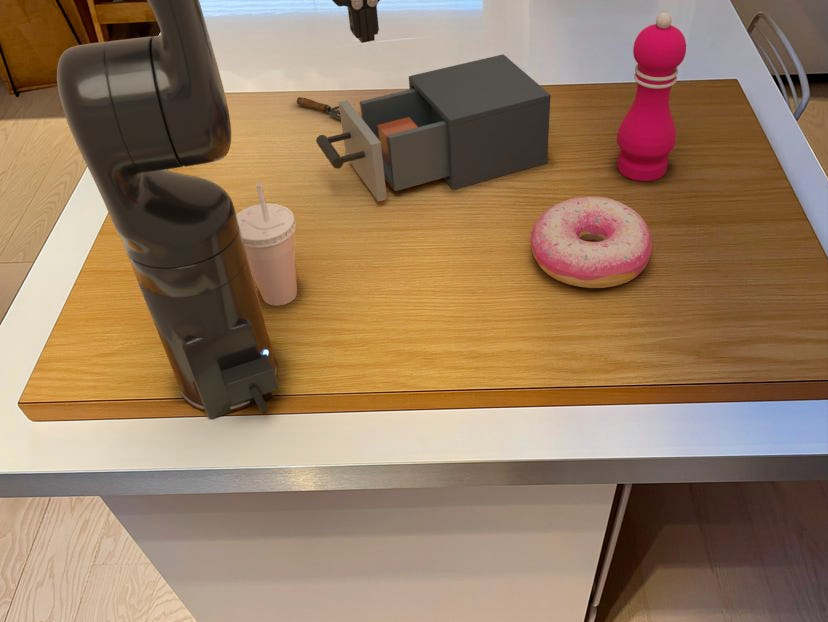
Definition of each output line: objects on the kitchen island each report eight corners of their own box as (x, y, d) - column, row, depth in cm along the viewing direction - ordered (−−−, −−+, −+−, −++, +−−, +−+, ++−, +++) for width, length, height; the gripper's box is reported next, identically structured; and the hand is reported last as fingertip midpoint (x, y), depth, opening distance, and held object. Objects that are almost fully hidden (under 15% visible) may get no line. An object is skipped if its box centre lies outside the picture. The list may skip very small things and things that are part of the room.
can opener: (296, 105, 118) (295, 98, 117) (307, 99, 120) (306, 91, 119) (344, 123, 115) (343, 115, 114) (355, 116, 116) (354, 108, 115)
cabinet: (452, 190, 103) (449, 120, 96) (413, 143, 111) (408, 75, 104) (547, 163, 107) (550, 94, 100) (502, 120, 115) (503, 53, 108)
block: (425, 163, 103) (423, 132, 100) (393, 172, 102) (390, 141, 99) (411, 147, 106) (409, 116, 103) (379, 156, 105) (376, 124, 102)
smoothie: (297, 317, 86) (272, 206, 76) (240, 309, 87) (208, 198, 77) (317, 279, 91) (296, 169, 81) (263, 272, 92) (235, 162, 82)
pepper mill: (668, 155, 108) (695, 0, 94) (672, 185, 103) (700, 27, 89) (613, 152, 109) (631, -1, 94) (614, 182, 104) (633, 25, 89)
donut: (551, 308, 87) (554, 271, 83) (514, 235, 96) (515, 199, 92) (668, 285, 89) (676, 248, 86) (621, 216, 98) (626, 180, 95)
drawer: (345, 211, 98) (336, 153, 93) (315, 165, 106) (305, 109, 100) (470, 175, 103) (469, 119, 98) (433, 134, 111) (430, 79, 105)
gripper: (289, -121, 74) (318, 64, 87) (424, -139, 78) (433, 40, 90) (268, -140, 79) (298, 37, 91) (396, -156, 83) (408, 16, 95)
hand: (365, 39), depth 91 cm, fingers closed
